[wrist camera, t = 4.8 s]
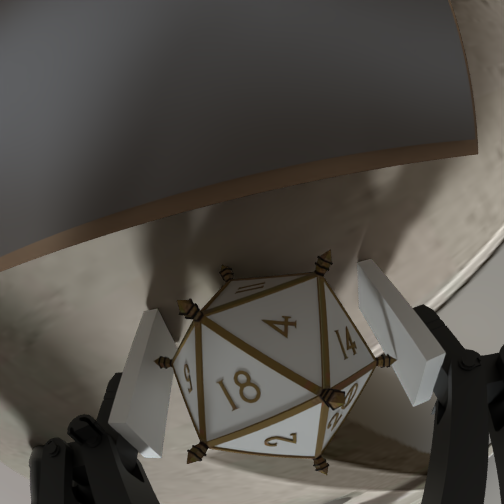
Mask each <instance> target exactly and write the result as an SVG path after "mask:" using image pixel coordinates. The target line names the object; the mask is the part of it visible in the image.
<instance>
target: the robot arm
mask: <svg viewBox="0 0 504 504" xmlns="http://www.w3.org/2000/svg"><path fill="white" fill-rule="evenodd" d="M357 271H358V294H359V309H360V310H361V312H362V314H363V316H364V317H365V319H366V321H367V322H368V324H369V326H370V328H371V329H372V331H373V333H374V335H375V336H376V338H377V340H378V342H379V344H380V345H381V347H382V349H383V351H384V353H385V354H386V355H387V354H389V356H391V357H393V358H395V359H397V361H395V362H394V363H393V364H391V365H392V367H393V369H394V371H395V373H396V375H397V376H398V378H399V380H400V382H401V384H402V386H403V388H404V390H405V392H406V394H407V395H408V397H409V400H410V402H411V404H412V406H416V405H419V404H421V403H423V402H426V401H428V400H430V398H431V396H432V393H433V391H434V393H435V395H436V396H437V401H436V403H435V406H434V408H433V410H432V414H434V413H435V420H434V431H433V440H432V448H431V455H430V462H429V468H428V473H427V479H426V484H425V489H424V494H423V498H422V502H421V504H484V497H485V488H486V480H487V468H488V448H489V434H490V438H491V443H492V447H493V452H494V457H495V462H496V468H497V474H498V480H499V487H500V495H501V504H504V345H503V346H502V347H501V349H500V352H499V353H495V354H490V355H484V356H480V354H479V353H477V352H475V351H473V350H467V349H465V348H464V347H463V346H462V345H461V344H460V342H459V341H458V340H457V338H456V337H455V336H454V335H453V334H452V332H451V331H450V330H449V329H448V328H447V326H445V324H444V322H443V321H442V320H441V319H440V318H439V316H438V315H437V314H436V313H435V312H434V310H432V309H431V308H429V307H427V306H425V305H424V304H423V305H420V306H417V307H414V308H412V307H411V306H410V305H409V303H408V302H407V301H406V300H405V298H404V297H403V296H402V295H401V293H400V292H399V291H398V290H397V288H396V287H395V286H394V285H393V284H392V282H391V281H390V280H389V279H388V278H387V276H386V275H385V274H384V273H383V272H382V270H381V269H380V268H379V267H378V266H377V265H376V263H375V262H374V261H373V260H372V259H368V260H364V261H361V262H357ZM177 349H178V348H177V346H176V344H175V342H174V340H173V338H172V336H171V334H170V332H169V330H168V328H167V327H166V324H165V322H164V320H163V318H162V316H161V314H160V312H159V310H158V309H153V310H148V311H144V313H143V315H142V318H141V321H140V324H139V327H138V329H137V332H136V335H135V338H134V341H133V344H132V346H131V349H130V352H129V355H128V358H127V361H126V364H125V367H124V371H123V372H122V373H115V375H114V376H113V377H112V379H111V380H110V381H109V383H108V386H107V389H106V393H105V395H104V398H103V399H104V400H103V401H102V405H101V408H100V411H99V414H98V417H97V421H96V420H95V419H94V418H93V417H91V416H90V415H85V414H83V415H80V416H78V417H76V418H74V419H73V420H72V422H71V423H70V424H69V427H68V432H67V434H68V435H69V436H70V437H71V438H72V439H74V440H75V442H71V443H66V442H65V441H64V440H62V439H61V438H52V439H50V440H49V441H48V442H47V443H46V444H45V446H36V447H34V448H33V451H32V454H31V456H30V459H29V467H30V490H31V504H160V503H159V501H158V499H157V497H156V495H155V493H154V491H153V489H152V487H151V485H150V482H149V480H148V478H147V476H146V473H145V471H144V469H143V467H142V464H141V463H140V461H139V460H138V459H137V454H138V452H139V453H140V454H141V455H142V456H144V457H145V458H162V450H163V442H164V434H165V427H166V420H167V413H168V406H169V399H170V392H171V386H172V380H173V373H174V371H173V368H172V367H168V368H167V369H165V368H162V369H160V367H159V366H158V365H157V364H156V363H155V362H154V360H156V359H158V358H159V357H160V356H162V357H168V358H169V359H173V357H174V355H175V353H176V351H177Z"/></svg>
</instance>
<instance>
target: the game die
mask: <svg viewBox="0 0 504 504" xmlns="http://www.w3.org/2000/svg"><path fill="white" fill-rule="evenodd" d="M317 258H318V261H317V262H315V264H316V270H315V271H314V272H309V273H299V274H288V275H278V276H267V277H255V278H244V279H233V273H232V272H231V270H232V268H228V267H226V266H224V265H222V267H221V271H220V272H219V273H220V274H221V276H222V278H223V280H225V281H226V283H225V284H224V285H223V286H222V288H221V289H220V290H219V291H218V292H217V293H216V294H215V295H214V296H213V297H212V298H211V299H210V301H209V302H208V303H207V304H206V305H205V306H204V307H203V308H202V309H201V310H200V309H199V308H198V306H197V304H196V303H195V304H194V303H193V301H192V299H189V300H177V302H178V306H179V310H180V313H179V315H184V316H185V318H186V319H193V321H192V323H191V325H190V327H189V329H188V331H187V332H186V334H185V336H184V338H183V340H182V342H181V344H180V346H179V347H178V349H177V351H176V353H175V355H174V357H173V359H169V358H168V357H162V356H160V357H159V358H158V359H156V360H154V362H155V363H156V364H157V365H158V366H159V367H160V369H162V368H165V369H167V368H168V367H172V368H173V371H174V374H175V377H176V379H177V382H178V385H179V388H180V391H181V393H182V396H183V399H184V402H185V404H186V407H187V409H188V412H189V415H190V417H191V420H192V422H193V425H194V427H195V430H196V432H197V434H198V437H199V439H200V443H199V444H197V445H195V446H194V445H192V447H193V448H191V449H190V450H187V451H188V458H187V464H189V463H193V462H196V461H202V457H203V456H206V451H207V449H208V448H209V449H215V450H221V451H227V452H234V453H242V454H250V455H259V456H270V457H284V458H308V459H313V460H314V465H313V466H315V467H316V470H315V471H319V472H321V473H324V474H326V475H327V472H328V466H329V464H328V463H326V459H324V458H323V457H322V456H321V454H322V453H323V452H324V450H325V449H326V447H327V446H328V445H329V443H330V442H331V440H332V439H333V437H334V436H335V434H336V433H337V431H338V430H339V428H340V427H341V425H342V424H343V422H344V421H345V419H346V417H347V416H348V414H349V413H350V411H351V409H352V408H353V406H354V404H355V403H356V401H357V399H358V398H359V396H360V394H361V393H362V391H363V389H364V387H365V386H366V384H367V382H368V380H369V378H370V377H371V375H372V373H373V371H374V369H375V367H376V366H380V367H381V368H383V367H385V366H386V367H390V365H391V364H393V363H394V362H395V361H397V359H395V358H393V357H391V356H389V354H387V355H385V356H383V355H381V356H380V357H378V358H375V356H374V355H373V353H372V352H371V350H370V348H369V347H368V345H367V343H366V342H365V340H364V339H363V337H362V335H361V334H360V332H359V331H358V329H357V327H356V326H355V324H354V323H353V321H352V320H351V318H350V316H349V315H348V313H347V312H346V310H345V309H344V307H343V306H342V304H341V302H340V301H339V299H338V298H337V296H336V295H335V293H334V292H333V290H332V289H331V287H330V286H329V284H328V283H327V281H326V280H325V278H324V274H325V272H326V271H327V270H328V271H329V267H330V265H332V264H333V263H332V261H331V250H329V251H327V252H326V253H324V254H323V255H321V256H318V257H317Z"/></svg>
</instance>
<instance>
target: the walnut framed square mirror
mask: <svg viewBox="0 0 504 504" xmlns="http://www.w3.org/2000/svg"><path fill="white" fill-rule="evenodd" d="M476 154H478V139H477V126H476V115H475V106H474V98H473V91H472V85H471V79H470V74H469V68H468V63H467V59H466V54H465V50H464V46H463V41H462V38H461V34H460V30H459V27H458V23H457V20H456V17H455V13H454V10H453V7H452V4H451V1H450V0H0V272H1V271H4V270H6V269H9V268H12V267H14V266H17V265H20V264H22V263H25V262H28V261H30V260H33V259H36V258H39V257H41V256H44V255H47V254H50V253H53V252H56V251H59V250H61V249H64V248H67V247H70V246H73V245H76V244H79V243H82V242H85V241H88V240H92V239H95V238H98V237H101V236H104V235H107V234H110V233H114V232H117V231H120V230H123V229H127V228H130V227H133V226H137V225H140V224H143V223H147V222H150V221H154V220H157V219H161V218H164V217H168V216H171V215H175V214H179V213H182V212H186V211H190V210H193V209H197V208H201V207H205V206H209V205H213V204H216V203H220V202H224V201H228V200H232V199H236V198H240V197H245V196H249V195H253V194H257V193H261V192H266V191H270V190H274V189H279V188H283V187H288V186H292V185H297V184H302V183H306V182H311V181H316V180H321V179H326V178H331V177H336V176H341V175H346V174H352V173H357V172H362V171H368V170H374V169H379V168H385V167H391V166H397V165H403V164H410V163H416V162H423V161H430V160H437V159H444V158H451V157H459V156H467V155H476Z"/></svg>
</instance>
